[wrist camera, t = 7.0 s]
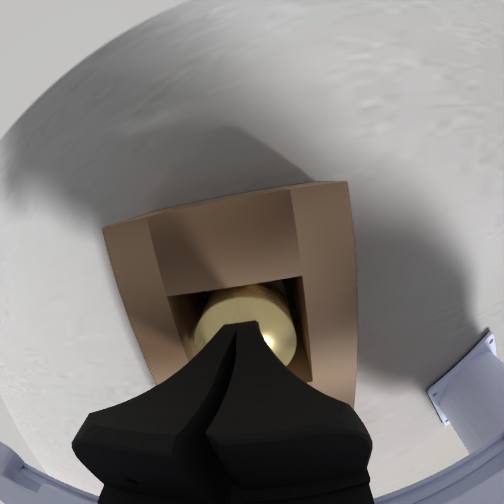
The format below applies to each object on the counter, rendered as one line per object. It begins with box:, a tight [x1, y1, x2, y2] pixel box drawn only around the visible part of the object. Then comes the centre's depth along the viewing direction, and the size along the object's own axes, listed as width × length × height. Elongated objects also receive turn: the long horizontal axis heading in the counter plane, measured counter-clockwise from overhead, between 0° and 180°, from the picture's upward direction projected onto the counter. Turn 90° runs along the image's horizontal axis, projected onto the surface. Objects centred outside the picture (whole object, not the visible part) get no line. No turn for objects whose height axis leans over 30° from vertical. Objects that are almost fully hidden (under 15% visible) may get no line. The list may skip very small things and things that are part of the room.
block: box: [102, 181, 358, 410], centre depth 14 cm, size 22×9×5 cm, turn 10°
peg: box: [195, 279, 297, 366], centre depth 13 cm, size 4×4×5 cm
